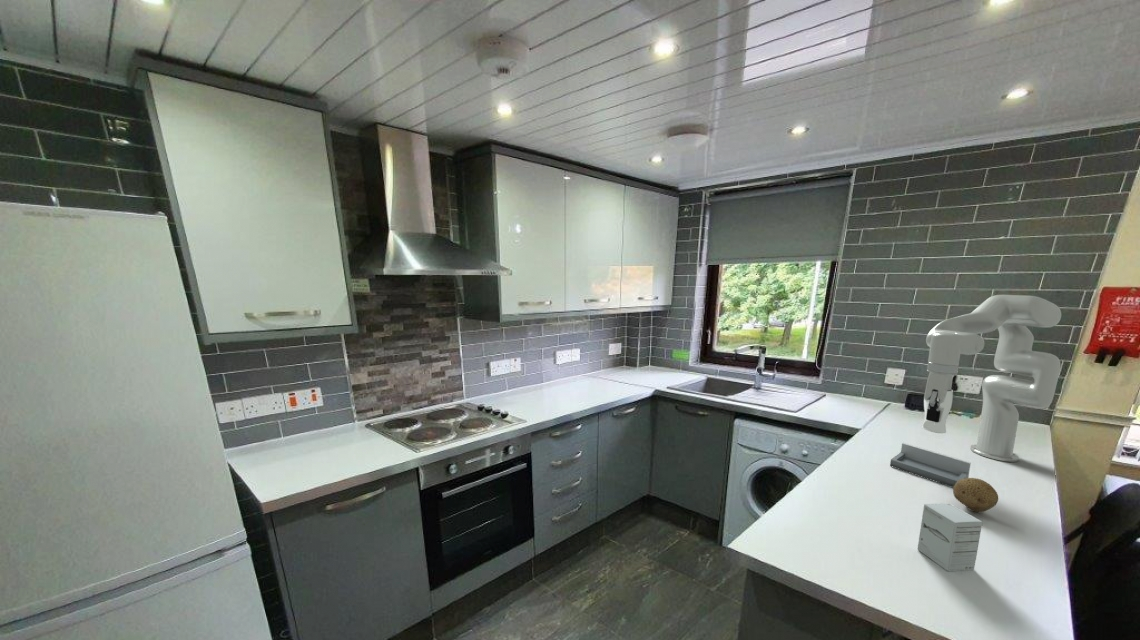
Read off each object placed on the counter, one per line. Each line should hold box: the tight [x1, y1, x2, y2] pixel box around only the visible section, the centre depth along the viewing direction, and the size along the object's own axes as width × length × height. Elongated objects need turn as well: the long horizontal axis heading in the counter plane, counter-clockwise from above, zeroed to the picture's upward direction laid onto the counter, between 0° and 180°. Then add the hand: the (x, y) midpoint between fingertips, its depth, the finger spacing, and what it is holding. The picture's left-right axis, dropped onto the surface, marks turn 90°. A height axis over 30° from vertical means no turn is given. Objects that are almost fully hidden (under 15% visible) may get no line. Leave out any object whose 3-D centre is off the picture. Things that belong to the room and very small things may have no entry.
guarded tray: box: [889, 442, 971, 488], centre depth 133 cm, size 12×18×6 cm, turn 34°
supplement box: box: [917, 502, 983, 572], centre depth 91 cm, size 7×7×13 cm
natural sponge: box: [952, 477, 999, 513], centre depth 111 cm, size 9×9×10 cm
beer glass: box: [921, 388, 954, 434], centre depth 131 cm, size 7×7×15 cm
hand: (935, 418), depth 131 cm, fingers closed on beer glass, 6 cm apart
